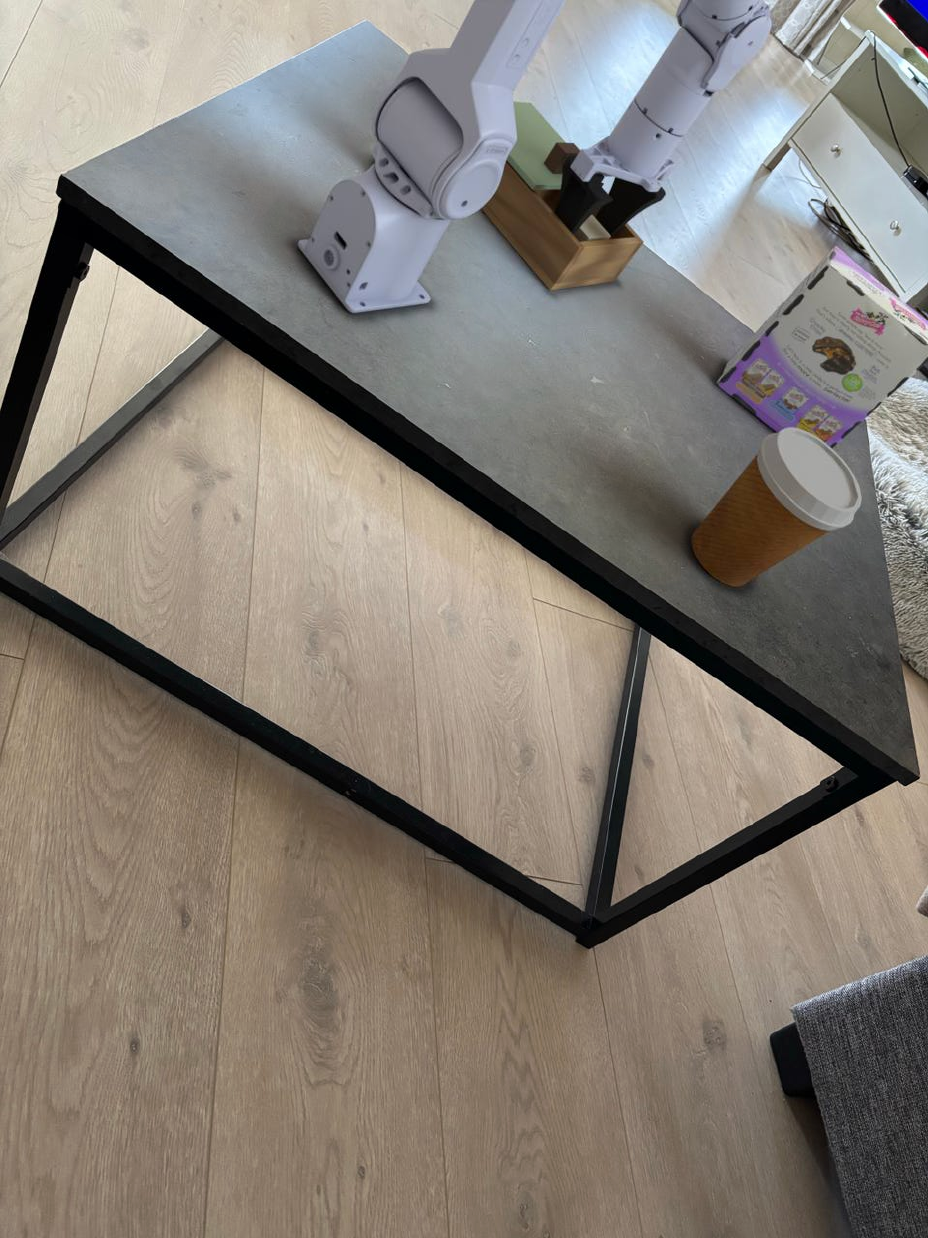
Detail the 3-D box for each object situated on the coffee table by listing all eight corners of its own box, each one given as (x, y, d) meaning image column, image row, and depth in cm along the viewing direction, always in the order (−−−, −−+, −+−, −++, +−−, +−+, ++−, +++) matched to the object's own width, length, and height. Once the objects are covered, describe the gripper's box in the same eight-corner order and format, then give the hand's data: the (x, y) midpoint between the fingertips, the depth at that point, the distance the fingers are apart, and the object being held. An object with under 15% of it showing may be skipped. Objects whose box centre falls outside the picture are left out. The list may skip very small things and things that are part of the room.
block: (566, 269, 98) (589, 237, 95) (543, 241, 99) (564, 209, 96) (589, 267, 101) (611, 235, 98) (566, 240, 102) (587, 208, 99)
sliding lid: (532, 190, 94) (549, 163, 91) (456, 101, 96) (470, 73, 94) (599, 188, 101) (616, 163, 99) (528, 107, 104) (542, 81, 102)
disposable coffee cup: (745, 621, 81) (853, 536, 73) (660, 544, 81) (758, 450, 73) (774, 568, 88) (876, 484, 79) (696, 497, 88) (789, 406, 80)
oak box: (550, 290, 96) (579, 247, 92) (475, 202, 98) (501, 156, 95) (614, 281, 104) (644, 241, 100) (543, 199, 106) (570, 158, 103)
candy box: (821, 440, 107) (943, 330, 95) (814, 465, 103) (941, 353, 91) (725, 362, 106) (837, 241, 95) (714, 384, 102) (829, 260, 90)
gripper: (645, 143, 83) (559, 268, 93) (725, 146, 93) (640, 259, 102) (595, 88, 84) (515, 216, 94) (678, 97, 94) (599, 212, 104)
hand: (577, 235), depth 98 cm, fingers open, 7 cm apart
